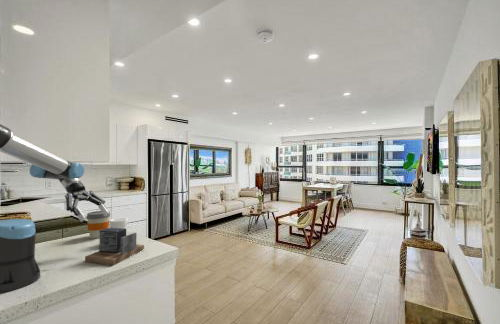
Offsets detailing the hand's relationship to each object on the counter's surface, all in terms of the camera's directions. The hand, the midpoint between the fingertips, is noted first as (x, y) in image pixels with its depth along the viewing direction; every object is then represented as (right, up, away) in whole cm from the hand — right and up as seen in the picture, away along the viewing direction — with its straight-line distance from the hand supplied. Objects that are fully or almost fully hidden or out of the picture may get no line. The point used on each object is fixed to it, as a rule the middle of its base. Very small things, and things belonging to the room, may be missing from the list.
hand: (95, 217), depth 119 cm
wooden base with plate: (+12, -18, -3) cm, 22 cm away
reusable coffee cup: (-18, -19, +29) cm, 39 cm away
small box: (+11, -16, -3) cm, 20 cm away
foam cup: (+1, -19, +18) cm, 26 cm away
